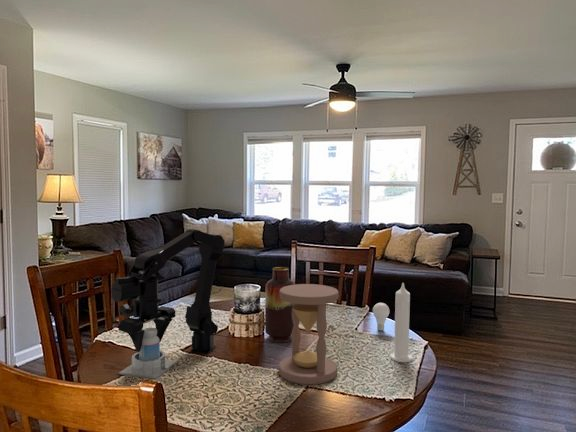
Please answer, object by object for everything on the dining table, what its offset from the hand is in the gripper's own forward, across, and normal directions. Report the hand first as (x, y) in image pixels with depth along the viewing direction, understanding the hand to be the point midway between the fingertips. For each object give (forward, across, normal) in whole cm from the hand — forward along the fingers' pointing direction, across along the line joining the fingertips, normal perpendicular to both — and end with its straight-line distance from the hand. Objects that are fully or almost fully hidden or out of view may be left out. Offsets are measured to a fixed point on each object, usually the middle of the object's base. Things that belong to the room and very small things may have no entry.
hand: (148, 346), depth 135 cm
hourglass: (+7, -19, +44) cm, 49 cm away
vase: (+7, -42, +24) cm, 49 cm away
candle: (+7, -42, +68) cm, 80 cm away
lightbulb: (+7, -68, +55) cm, 87 cm away
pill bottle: (+6, 0, 0) cm, 6 cm away
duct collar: (+7, 0, 0) cm, 7 cm away
